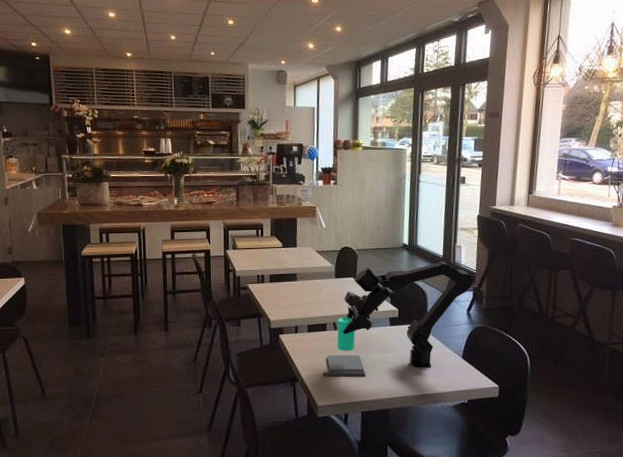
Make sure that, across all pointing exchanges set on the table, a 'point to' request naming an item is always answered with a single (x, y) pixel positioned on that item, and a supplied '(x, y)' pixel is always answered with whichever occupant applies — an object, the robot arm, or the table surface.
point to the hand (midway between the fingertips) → (342, 330)
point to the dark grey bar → (344, 374)
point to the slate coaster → (345, 363)
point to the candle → (345, 335)
